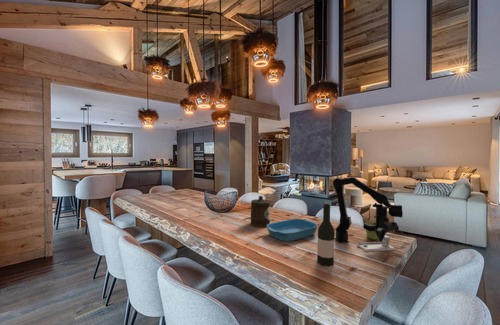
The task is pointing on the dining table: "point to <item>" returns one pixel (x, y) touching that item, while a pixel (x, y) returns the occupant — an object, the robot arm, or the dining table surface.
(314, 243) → the dining table surface
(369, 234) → the plant pot
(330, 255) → the wine bottle
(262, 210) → the wooden container
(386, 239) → the slider
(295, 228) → the casserole dish
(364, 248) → the plate
